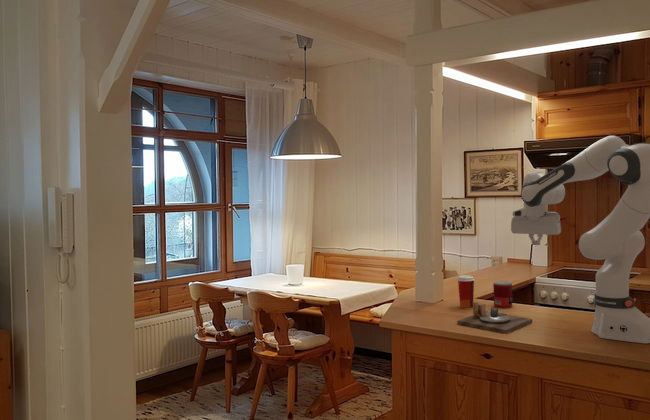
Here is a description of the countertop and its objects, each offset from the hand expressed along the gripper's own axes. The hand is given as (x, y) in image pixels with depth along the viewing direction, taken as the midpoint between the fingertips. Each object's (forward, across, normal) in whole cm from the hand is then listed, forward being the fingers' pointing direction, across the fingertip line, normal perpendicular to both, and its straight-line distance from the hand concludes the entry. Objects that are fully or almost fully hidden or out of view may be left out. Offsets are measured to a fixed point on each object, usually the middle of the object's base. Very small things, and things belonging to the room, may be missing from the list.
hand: (536, 244), depth 241 cm
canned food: (+30, +19, -7) cm, 36 cm away
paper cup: (+30, +32, +3) cm, 44 cm away
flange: (+28, +10, +21) cm, 36 cm away
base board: (+30, +9, +21) cm, 38 cm away
